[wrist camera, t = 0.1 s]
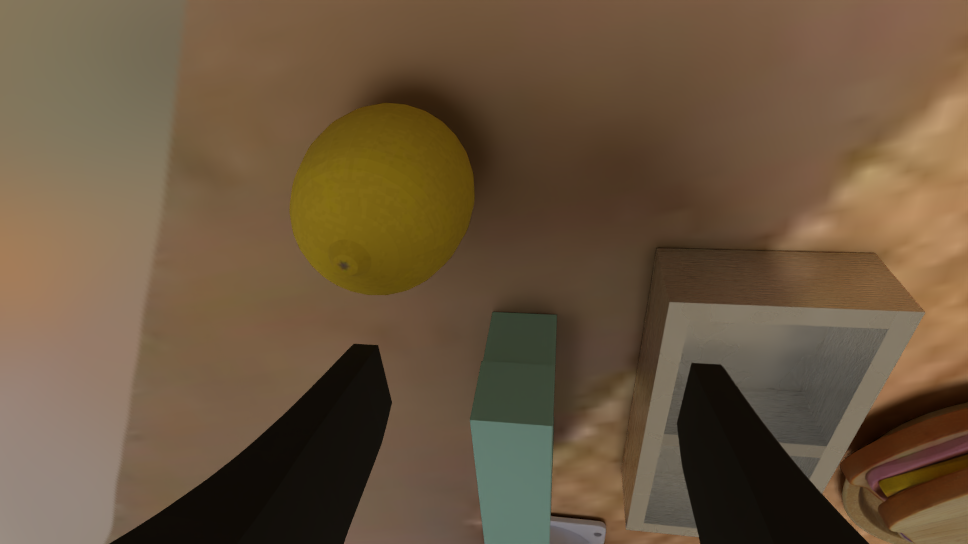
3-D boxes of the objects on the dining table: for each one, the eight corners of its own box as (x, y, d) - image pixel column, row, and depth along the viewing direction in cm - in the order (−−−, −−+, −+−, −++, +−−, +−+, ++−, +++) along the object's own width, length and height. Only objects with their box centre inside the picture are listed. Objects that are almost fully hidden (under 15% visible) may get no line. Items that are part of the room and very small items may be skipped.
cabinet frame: (770, 483, 29) (791, 546, 26) (621, 470, 30) (626, 529, 27) (875, 253, 20) (925, 312, 17) (656, 248, 21) (669, 302, 18)
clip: (553, 448, 30) (548, 565, 24) (501, 444, 30) (486, 558, 25) (556, 309, 24) (552, 426, 18) (492, 307, 24) (469, 419, 19)
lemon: (486, 74, 18) (437, 172, 11) (490, 213, 21) (454, 351, 15) (335, 74, 19) (210, 165, 12) (361, 209, 22) (273, 337, 15)
